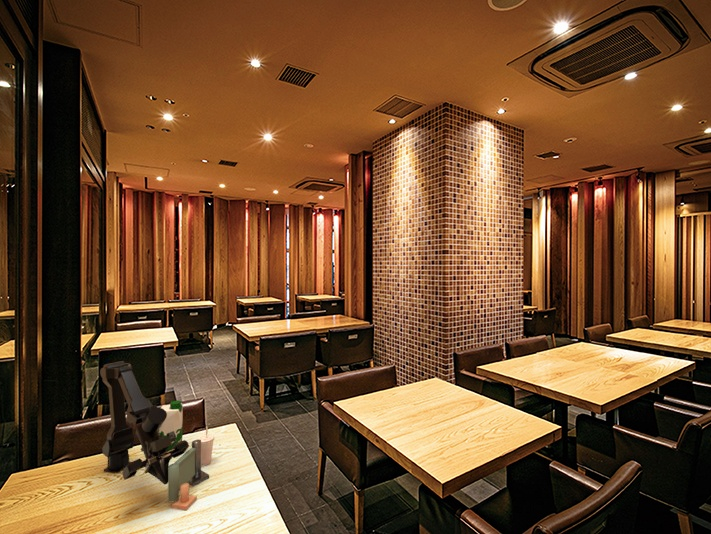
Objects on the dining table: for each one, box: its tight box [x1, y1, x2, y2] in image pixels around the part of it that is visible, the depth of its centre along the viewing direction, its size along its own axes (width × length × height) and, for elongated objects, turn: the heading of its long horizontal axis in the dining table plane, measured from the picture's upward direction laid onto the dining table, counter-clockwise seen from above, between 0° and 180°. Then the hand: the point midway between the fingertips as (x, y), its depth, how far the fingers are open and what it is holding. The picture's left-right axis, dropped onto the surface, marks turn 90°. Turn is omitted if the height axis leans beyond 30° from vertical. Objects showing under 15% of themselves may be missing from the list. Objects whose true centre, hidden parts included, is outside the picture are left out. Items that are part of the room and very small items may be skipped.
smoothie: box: [196, 426, 215, 466], centre depth 133 cm, size 6×6×14 cm
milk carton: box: [158, 400, 184, 451], centre depth 142 cm, size 9×9×20 cm
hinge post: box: [187, 439, 210, 488], centre depth 123 cm, size 6×6×14 cm
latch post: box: [171, 483, 198, 511], centre depth 110 cm, size 5×5×6 cm
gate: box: [167, 447, 196, 503], centre depth 115 cm, size 12×3×10 cm, turn 174°
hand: (166, 483), depth 109 cm, fingers closed
